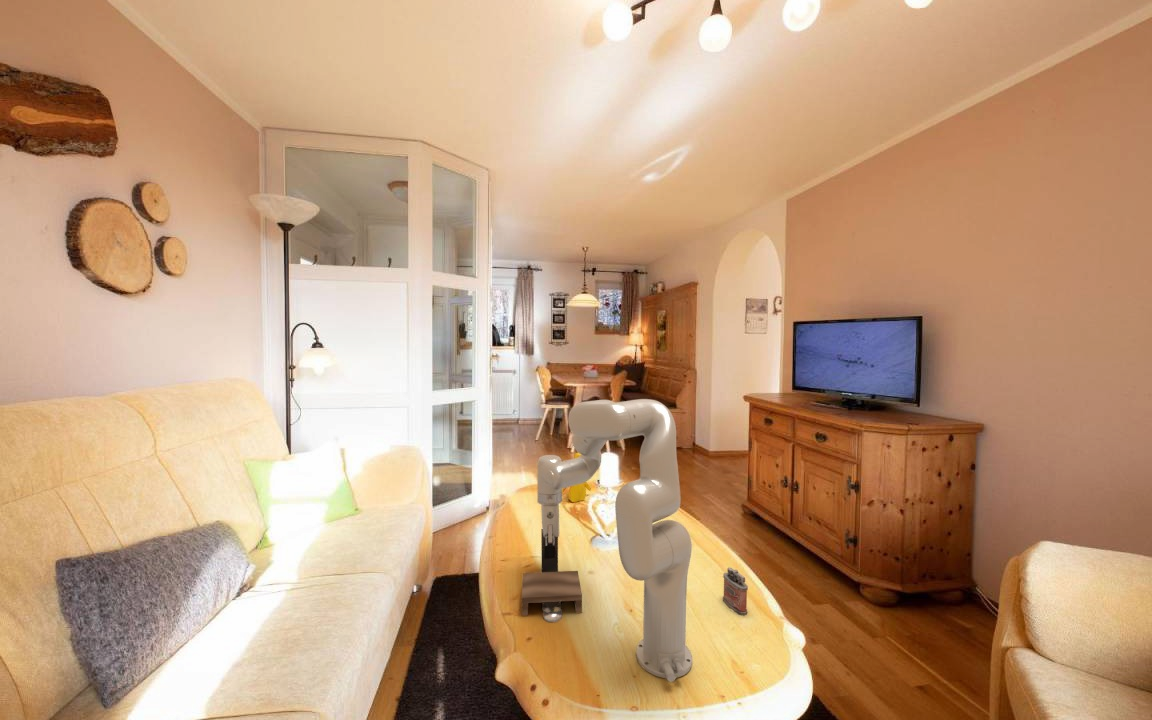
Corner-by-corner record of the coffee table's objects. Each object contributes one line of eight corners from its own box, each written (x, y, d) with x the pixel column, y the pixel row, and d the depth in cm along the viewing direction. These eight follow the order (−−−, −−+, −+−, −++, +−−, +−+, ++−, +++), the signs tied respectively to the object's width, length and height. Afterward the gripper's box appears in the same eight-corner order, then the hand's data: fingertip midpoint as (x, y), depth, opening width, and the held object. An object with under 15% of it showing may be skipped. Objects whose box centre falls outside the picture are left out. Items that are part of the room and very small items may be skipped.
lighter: (719, 599, 122) (720, 565, 122) (729, 597, 123) (730, 562, 123) (740, 616, 115) (740, 580, 114) (750, 614, 116) (751, 577, 115)
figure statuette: (588, 494, 204) (589, 447, 203) (597, 499, 197) (597, 451, 196) (554, 500, 196) (554, 452, 194) (562, 506, 189) (562, 456, 187)
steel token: (562, 622, 113) (562, 617, 112) (543, 623, 112) (543, 619, 112) (561, 610, 117) (561, 605, 117) (542, 611, 117) (542, 607, 117)
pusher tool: (560, 609, 117) (560, 559, 117) (542, 610, 117) (542, 560, 116) (557, 571, 136) (557, 528, 136) (541, 572, 136) (541, 528, 135)
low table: (581, 612, 116) (582, 594, 116) (521, 616, 115) (521, 597, 114) (577, 587, 128) (577, 570, 128) (522, 589, 127) (522, 573, 126)
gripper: (563, 506, 126) (563, 568, 126) (560, 486, 142) (560, 541, 143) (537, 507, 125) (537, 569, 126) (537, 487, 141) (537, 542, 142)
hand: (549, 554), depth 134 cm, fingers closed on pusher tool, 3 cm apart
